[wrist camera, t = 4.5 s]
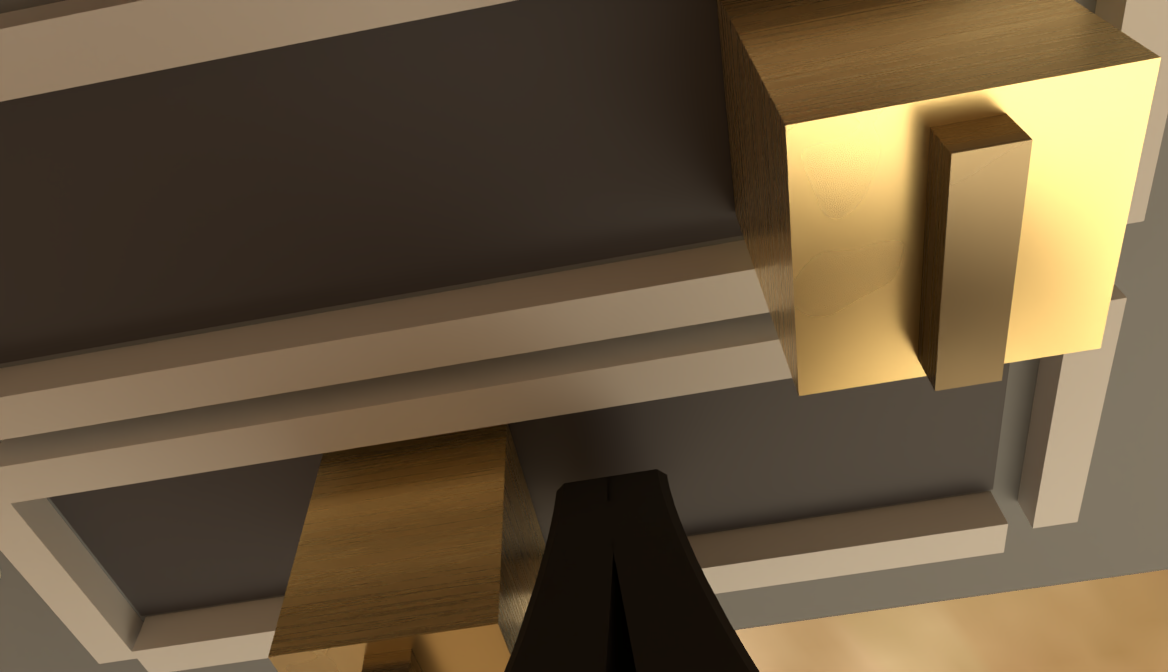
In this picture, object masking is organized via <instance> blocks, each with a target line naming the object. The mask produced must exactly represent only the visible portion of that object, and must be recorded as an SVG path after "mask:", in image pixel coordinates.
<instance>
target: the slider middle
mask: <svg viewBox="0 0 1168 672" xmlns="http://www.w3.org/2000/svg"><path fill="white" fill-rule="evenodd" d="M716 1H717V12H718V23H719V34H720V45H721V56H722V67H723V79H724V90H725V101H726V112H727V123H728V134H729V145H730V157H731V168H732V179H733V190H734V201H735V212H736V217H737V220H738V223H739V226H740V228H741V231H742V234H743V237H744V240H745V243H746V246H747V249H748V251H749V254H750V257H751V260H752V263H753V266H754V269H755V272H756V275H757V277H758V280H759V283H760V286H761V289H762V292H763V295H764V298H765V300H766V303H767V306H768V309H769V312H770V315H771V318H772V321H773V323H774V326H775V329H776V332H777V335H778V338H779V341H780V344H781V347H782V349H783V352H784V355H785V358H786V361H787V364H788V367H789V370H790V372H791V375H792V378H793V381H794V384H795V387H796V390H797V393H798V395H799V396H803V395H809V394H816V393H822V392H828V391H835V390H841V389H847V388H853V387H860V386H866V385H872V384H879V383H885V382H891V381H898V380H904V379H910V378H916V377H923V376H927V377H928V379H929V381H930V383H931V385H932V387H933V389H934V390H935V391H939V390H945V389H951V388H958V387H964V386H971V385H977V384H983V383H990V382H996V381H1002V375H1003V367H1004V363H1011V362H1017V361H1023V360H1030V359H1036V358H1042V357H1049V356H1055V355H1061V354H1067V353H1074V352H1080V351H1086V350H1093V349H1099V348H1101V344H1102V339H1103V334H1104V329H1105V324H1106V320H1107V315H1108V310H1109V305H1110V300H1111V296H1112V291H1113V286H1114V281H1115V276H1116V272H1117V267H1118V262H1119V257H1120V252H1121V248H1122V243H1123V238H1124V233H1125V228H1126V224H1127V219H1128V214H1129V209H1130V204H1131V200H1132V195H1133V190H1134V185H1135V180H1136V176H1137V171H1138V166H1139V161H1140V156H1141V152H1142V147H1143V142H1144V137H1145V132H1146V128H1147V123H1148V118H1149V113H1150V108H1151V104H1152V99H1153V94H1154V89H1155V84H1156V80H1157V75H1158V70H1159V65H1160V60H1161V57H1160V56H1158V55H1157V54H1155V53H1154V52H1152V51H1151V50H1149V49H1148V48H1146V47H1144V46H1143V45H1141V44H1140V43H1138V42H1137V41H1135V40H1134V39H1132V38H1131V37H1129V36H1128V35H1126V34H1125V33H1123V32H1122V31H1120V30H1118V29H1117V28H1115V27H1114V26H1112V25H1111V24H1109V23H1108V22H1106V21H1105V20H1103V19H1102V18H1100V17H1099V16H1097V15H1096V14H1094V13H1093V12H1091V11H1089V10H1088V9H1086V8H1085V7H1083V6H1082V5H1080V4H1079V3H1077V2H1076V1H1074V0H716Z"/></svg>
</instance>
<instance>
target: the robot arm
mask: <svg viewBox="0 0 1168 672" xmlns="http://www.w3.org/2000/svg"><path fill="white" fill-rule="evenodd" d="M504 672H759V670H758V669H757V667H756V665H755V664H754V662H753V661H752V659H751V657H750V656H749V654H748V653H747V651H746V649H745V648H744V646H743V644H742V642H741V641H740V639H739V637H738V636H737V634H736V632H735V630H734V629H733V627H732V625H731V623H730V622H729V620H728V618H727V616H726V614H725V612H724V610H723V609H722V607H721V605H720V603H719V601H718V599H717V597H716V596H715V594H714V592H713V590H712V588H711V586H710V584H709V583H708V581H707V579H706V577H705V575H704V573H703V571H702V569H701V566H700V564H699V562H698V560H697V558H696V556H695V554H694V551H693V549H692V547H691V545H690V542H689V540H688V538H687V536H686V533H685V531H684V528H683V526H682V523H681V521H680V518H679V515H678V513H677V510H676V507H675V504H674V501H673V497H672V494H671V491H670V487H669V482H668V477H667V474H665V473H663V472H661V471H660V470H658V469H654V470H647V471H641V472H634V473H627V474H621V475H614V476H608V477H601V478H595V479H588V480H582V481H575V482H569V483H564V484H563V485H562V486H561V487H560V488H559V489H558V490H557V492H556V498H555V505H554V511H553V516H552V520H551V525H550V530H549V534H548V538H547V542H546V546H545V550H544V554H543V557H542V561H541V564H540V568H539V571H538V575H537V578H536V582H535V585H534V588H533V591H532V594H531V597H530V600H529V603H528V606H527V609H526V612H525V615H524V619H523V622H522V625H521V628H520V631H519V634H518V637H517V639H516V642H515V645H514V648H513V651H512V653H511V656H510V658H509V661H508V663H507V666H506V668H505V671H504Z"/></svg>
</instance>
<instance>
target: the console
mask: <svg viewBox="0 0 1168 672" xmlns="http://www.w3.org/2000/svg"><path fill="white" fill-rule="evenodd" d="M1074 1H1076V2H1077V3H1079V4H1080V5H1082V6H1083V7H1085V8H1086V9H1088V10H1089V11H1091V12H1093V13H1094V14H1096V15H1097V16H1099V17H1100V18H1102V19H1103V20H1105V21H1106V22H1108V23H1109V24H1111V25H1112V26H1114V27H1115V28H1117V29H1118V30H1120V31H1122V32H1123V33H1125V34H1126V35H1128V36H1129V37H1131V38H1132V39H1134V40H1135V41H1137V42H1138V43H1140V44H1141V45H1143V46H1144V47H1146V48H1148V49H1149V50H1151V51H1152V52H1154V53H1155V54H1157V55H1158V56H1160V57H1161V60H1160V65H1159V70H1158V75H1157V80H1156V84H1155V89H1154V94H1153V99H1152V104H1151V108H1150V113H1149V118H1148V123H1147V128H1146V132H1145V137H1144V142H1143V147H1142V152H1141V156H1140V161H1139V166H1138V171H1137V176H1136V180H1135V185H1134V190H1133V195H1132V200H1131V204H1130V209H1129V214H1128V219H1127V224H1126V228H1125V233H1124V238H1123V243H1122V248H1121V252H1120V257H1119V262H1118V267H1117V272H1116V276H1115V281H1114V286H1113V291H1112V296H1111V300H1110V305H1109V310H1108V315H1107V320H1106V324H1105V329H1104V334H1103V339H1102V344H1101V348H1099V349H1093V350H1086V351H1080V352H1074V353H1067V354H1061V355H1055V356H1049V357H1042V358H1036V359H1030V360H1023V361H1017V362H1011V363H1004V367H1003V375H1002V381H996V382H990V383H983V384H977V385H971V386H964V387H958V388H951V389H945V390H939V391H935V390H934V389H933V387H932V385H931V383H930V381H929V379H928V377H927V376H923V377H916V378H910V379H904V380H898V381H891V382H885V383H879V384H872V385H866V386H860V387H853V388H847V389H841V390H835V391H828V392H822V393H816V394H809V395H803V396H799V395H798V393H797V390H796V387H795V384H794V381H793V378H792V375H791V372H790V370H789V367H788V364H787V361H786V358H785V355H784V352H783V349H782V347H781V344H780V341H779V338H778V335H777V332H776V329H775V326H774V323H773V321H772V318H771V315H770V312H769V309H768V306H767V303H766V300H765V298H764V295H763V292H762V289H761V286H760V283H759V280H758V277H757V275H756V272H755V269H754V266H753V263H752V260H751V257H750V254H749V251H748V249H747V246H746V243H745V240H744V237H743V234H742V231H741V228H740V226H739V223H738V220H737V217H736V212H735V201H734V190H733V179H732V168H731V157H730V145H729V134H728V123H727V112H726V101H725V90H724V79H723V67H722V56H721V45H720V34H719V23H718V12H717V1H716V0H0V672H278V671H277V669H276V668H275V667H274V665H273V664H272V662H271V661H270V659H269V658H268V655H269V652H270V648H271V644H272V641H273V637H274V633H275V630H276V626H277V622H278V618H279V615H280V611H281V607H282V604H283V600H284V596H285V593H286V589H287V585H288V581H289V578H290V574H291V570H292V567H293V563H294V559H295V556H296V552H297V548H298V544H299V541H300V537H301V533H302V530H303V526H304V522H305V519H306V515H307V511H308V507H309V504H310V500H311V496H312V493H313V489H314V485H315V481H316V478H317V474H318V470H319V467H320V463H321V459H322V456H323V453H328V452H334V451H340V450H346V449H353V448H359V447H365V446H371V445H377V444H384V443H390V442H396V441H402V440H409V439H415V438H421V437H427V436H434V435H440V434H446V433H452V432H458V431H465V430H471V429H477V428H483V427H490V426H496V425H502V424H508V427H509V430H510V433H511V436H512V440H513V443H514V446H515V449H516V452H517V456H518V459H519V462H520V465H521V468H522V472H523V475H524V478H525V481H526V484H527V488H528V491H529V494H530V497H531V500H532V504H533V507H534V510H535V513H536V516H537V520H538V523H539V526H540V529H541V532H542V536H543V539H544V542H545V546H546V542H547V538H548V534H549V530H550V525H551V520H552V516H553V511H554V505H555V498H556V492H557V490H558V489H559V488H560V487H561V486H562V485H563V484H564V483H569V482H575V481H582V480H588V479H595V478H601V477H608V476H614V475H621V474H627V473H634V472H641V471H647V470H654V469H658V470H660V471H661V472H663V473H665V474H667V477H668V482H669V487H670V491H671V494H672V497H673V501H674V504H675V507H676V510H677V513H678V515H679V518H680V521H681V523H682V526H683V528H684V531H685V533H686V536H687V538H688V540H689V542H690V545H691V547H692V549H693V551H694V554H695V556H696V558H697V560H698V562H699V564H700V566H701V569H702V571H703V573H704V575H705V577H706V579H707V581H708V583H709V584H710V586H711V588H712V590H713V592H714V594H715V596H716V597H717V599H718V601H719V603H720V605H721V607H722V609H723V610H724V612H725V614H726V616H727V618H728V620H729V622H730V623H731V625H732V627H733V629H734V630H739V629H746V628H753V627H760V626H767V625H774V624H781V623H789V622H796V621H803V620H810V619H817V618H824V617H831V616H838V615H846V614H853V613H860V612H867V611H874V610H881V609H888V608H895V607H903V606H910V605H917V604H924V603H931V602H938V601H945V600H953V599H960V598H967V597H974V596H981V595H988V594H995V593H1002V592H1010V591H1017V590H1024V589H1031V588H1038V587H1045V586H1052V585H1059V584H1067V583H1074V582H1081V581H1088V580H1095V579H1102V578H1109V577H1116V576H1124V575H1131V574H1138V573H1145V572H1152V571H1159V570H1166V569H1168V0H1074Z"/></svg>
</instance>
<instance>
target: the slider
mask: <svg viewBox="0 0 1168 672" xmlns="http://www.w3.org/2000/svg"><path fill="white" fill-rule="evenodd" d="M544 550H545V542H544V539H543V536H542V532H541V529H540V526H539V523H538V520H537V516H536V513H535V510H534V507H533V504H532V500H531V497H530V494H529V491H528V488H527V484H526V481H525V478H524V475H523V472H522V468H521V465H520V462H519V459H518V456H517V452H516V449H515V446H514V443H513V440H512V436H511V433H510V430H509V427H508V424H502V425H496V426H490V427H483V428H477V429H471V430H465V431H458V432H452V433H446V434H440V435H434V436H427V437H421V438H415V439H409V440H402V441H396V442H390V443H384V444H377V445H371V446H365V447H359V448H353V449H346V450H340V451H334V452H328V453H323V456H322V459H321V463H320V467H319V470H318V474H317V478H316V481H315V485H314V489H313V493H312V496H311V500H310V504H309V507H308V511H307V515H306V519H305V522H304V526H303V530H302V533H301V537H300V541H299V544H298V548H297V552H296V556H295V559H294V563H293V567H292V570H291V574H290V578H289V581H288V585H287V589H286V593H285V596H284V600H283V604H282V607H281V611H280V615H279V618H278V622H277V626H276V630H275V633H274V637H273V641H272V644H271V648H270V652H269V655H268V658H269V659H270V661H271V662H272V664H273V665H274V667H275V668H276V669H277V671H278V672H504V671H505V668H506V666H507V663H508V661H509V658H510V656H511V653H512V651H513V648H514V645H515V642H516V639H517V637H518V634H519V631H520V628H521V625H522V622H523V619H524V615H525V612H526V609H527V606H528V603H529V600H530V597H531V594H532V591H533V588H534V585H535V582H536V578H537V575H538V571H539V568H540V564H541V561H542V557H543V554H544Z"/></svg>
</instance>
